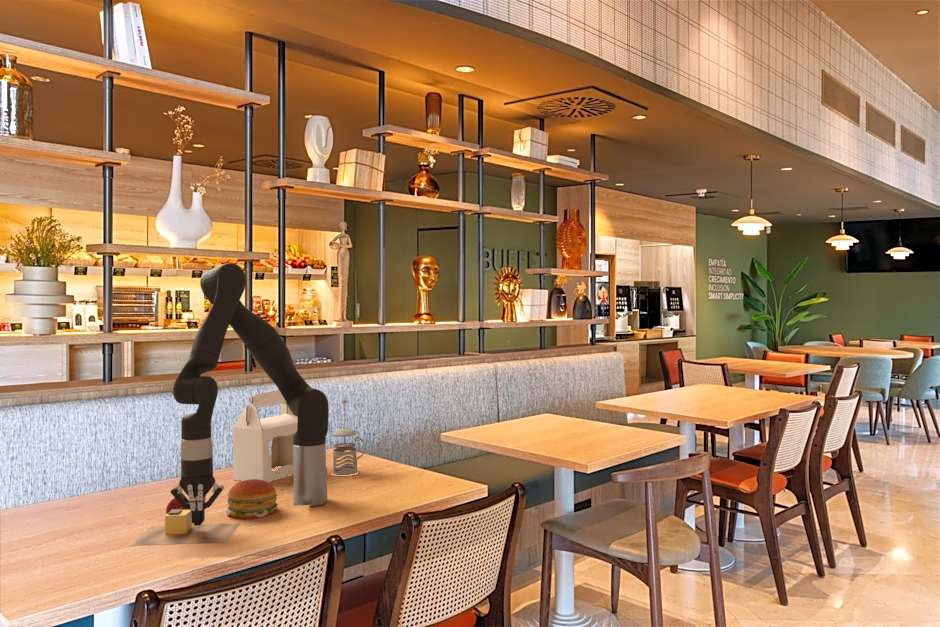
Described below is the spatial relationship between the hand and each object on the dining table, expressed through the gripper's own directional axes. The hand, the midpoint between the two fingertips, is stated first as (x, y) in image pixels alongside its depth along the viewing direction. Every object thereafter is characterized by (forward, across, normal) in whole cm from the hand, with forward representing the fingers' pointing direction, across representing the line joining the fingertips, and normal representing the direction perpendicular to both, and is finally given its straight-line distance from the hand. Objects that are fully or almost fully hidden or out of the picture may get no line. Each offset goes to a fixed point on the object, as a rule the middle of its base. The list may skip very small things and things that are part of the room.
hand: (198, 524), depth 186 cm
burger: (+3, -10, -15) cm, 18 cm away
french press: (+3, -33, -62) cm, 70 cm away
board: (+3, +2, +4) cm, 5 cm away
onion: (+3, +8, -10) cm, 13 cm away
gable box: (+3, -7, -62) cm, 63 cm away
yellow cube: (+1, +5, 0) cm, 5 cm away
